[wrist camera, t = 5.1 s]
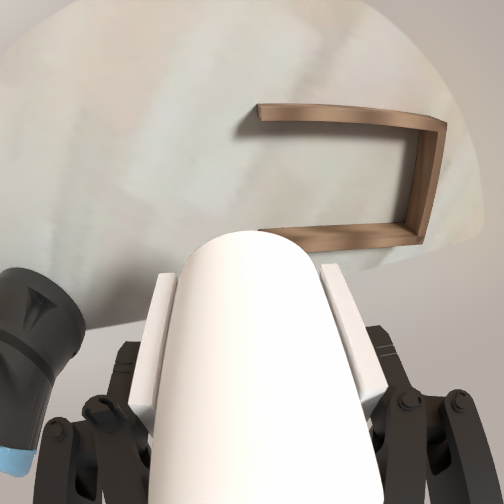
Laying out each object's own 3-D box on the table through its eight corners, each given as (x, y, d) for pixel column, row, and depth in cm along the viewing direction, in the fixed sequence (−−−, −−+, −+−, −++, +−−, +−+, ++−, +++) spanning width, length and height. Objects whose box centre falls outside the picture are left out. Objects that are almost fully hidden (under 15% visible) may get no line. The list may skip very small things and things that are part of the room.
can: (306, 330, 17) (352, 550, 7) (186, 332, 16) (172, 562, 6) (326, 225, 13) (446, 531, 3) (171, 225, 13) (103, 564, 3)
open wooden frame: (259, 238, 31) (262, 255, 28) (257, 103, 24) (261, 108, 21) (409, 230, 32) (422, 244, 29) (429, 116, 25) (447, 122, 22)
